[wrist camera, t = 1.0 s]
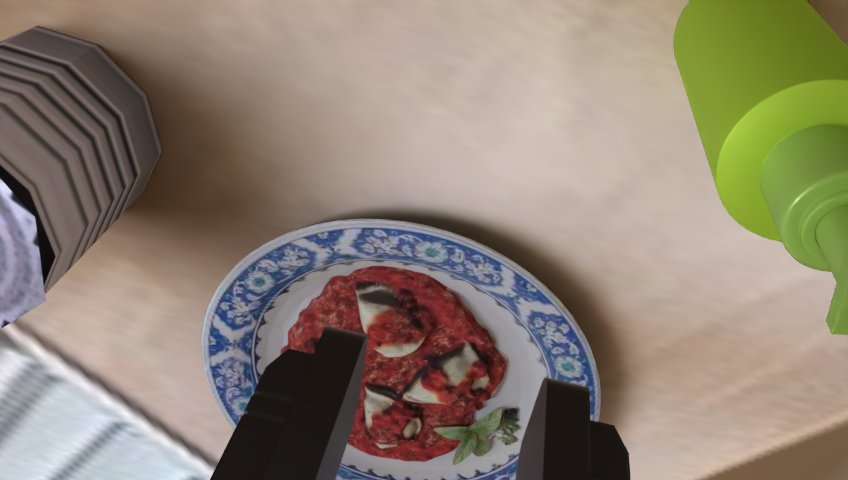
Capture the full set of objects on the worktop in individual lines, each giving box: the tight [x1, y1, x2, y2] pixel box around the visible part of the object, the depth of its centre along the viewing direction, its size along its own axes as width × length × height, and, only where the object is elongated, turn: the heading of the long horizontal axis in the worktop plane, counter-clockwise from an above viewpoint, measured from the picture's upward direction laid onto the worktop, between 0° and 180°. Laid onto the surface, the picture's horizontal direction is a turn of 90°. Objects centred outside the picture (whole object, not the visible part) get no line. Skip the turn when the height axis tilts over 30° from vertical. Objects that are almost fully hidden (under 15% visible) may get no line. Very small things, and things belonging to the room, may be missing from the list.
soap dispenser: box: [674, 0, 848, 335], centre depth 26 cm, size 6×7×20 cm
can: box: [0, 26, 162, 329], centre depth 39 cm, size 11×11×12 cm
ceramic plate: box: [202, 219, 601, 480], centre depth 49 cm, size 26×26×3 cm
